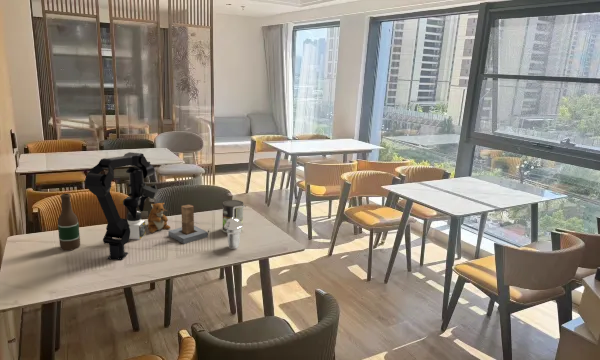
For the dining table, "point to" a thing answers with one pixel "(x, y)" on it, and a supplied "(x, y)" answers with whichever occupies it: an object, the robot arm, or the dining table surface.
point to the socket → (188, 238)
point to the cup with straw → (233, 230)
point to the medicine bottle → (136, 226)
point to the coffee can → (228, 211)
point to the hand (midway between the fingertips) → (138, 214)
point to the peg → (187, 219)
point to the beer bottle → (68, 226)
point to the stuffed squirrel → (157, 218)
